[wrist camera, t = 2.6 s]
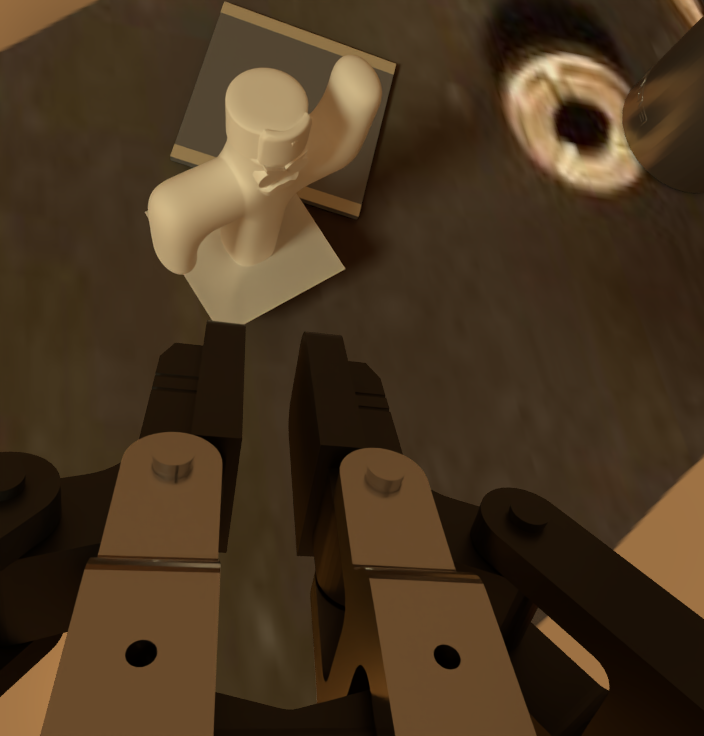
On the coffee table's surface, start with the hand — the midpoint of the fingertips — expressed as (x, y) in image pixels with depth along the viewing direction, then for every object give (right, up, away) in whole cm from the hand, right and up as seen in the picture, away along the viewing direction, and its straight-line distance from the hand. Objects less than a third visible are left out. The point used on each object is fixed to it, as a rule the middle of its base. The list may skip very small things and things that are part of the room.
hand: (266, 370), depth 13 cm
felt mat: (-2, +15, +26) cm, 31 cm away
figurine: (-4, +6, +24) cm, 25 cm away
